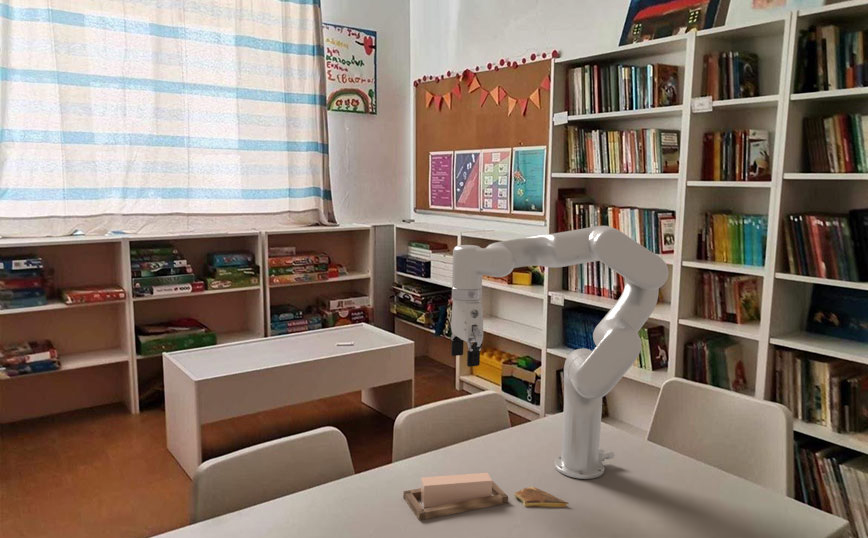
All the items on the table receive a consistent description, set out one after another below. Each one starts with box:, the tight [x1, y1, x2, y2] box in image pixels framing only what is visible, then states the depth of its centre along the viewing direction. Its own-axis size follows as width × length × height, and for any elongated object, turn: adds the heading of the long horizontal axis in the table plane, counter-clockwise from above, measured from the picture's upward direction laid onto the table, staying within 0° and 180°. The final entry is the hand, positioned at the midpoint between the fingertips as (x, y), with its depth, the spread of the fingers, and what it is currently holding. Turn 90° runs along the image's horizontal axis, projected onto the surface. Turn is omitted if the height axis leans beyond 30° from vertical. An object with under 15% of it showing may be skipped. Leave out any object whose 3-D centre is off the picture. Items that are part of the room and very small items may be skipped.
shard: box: [514, 486, 569, 508], centre depth 149 cm, size 11×8×2 cm
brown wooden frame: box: [402, 480, 509, 521], centre depth 149 cm, size 22×10×2 cm, turn 112°
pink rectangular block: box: [420, 472, 493, 509], centre depth 149 cm, size 16×4×6 cm, turn 101°
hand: (465, 360), depth 163 cm, fingers open, 9 cm apart
